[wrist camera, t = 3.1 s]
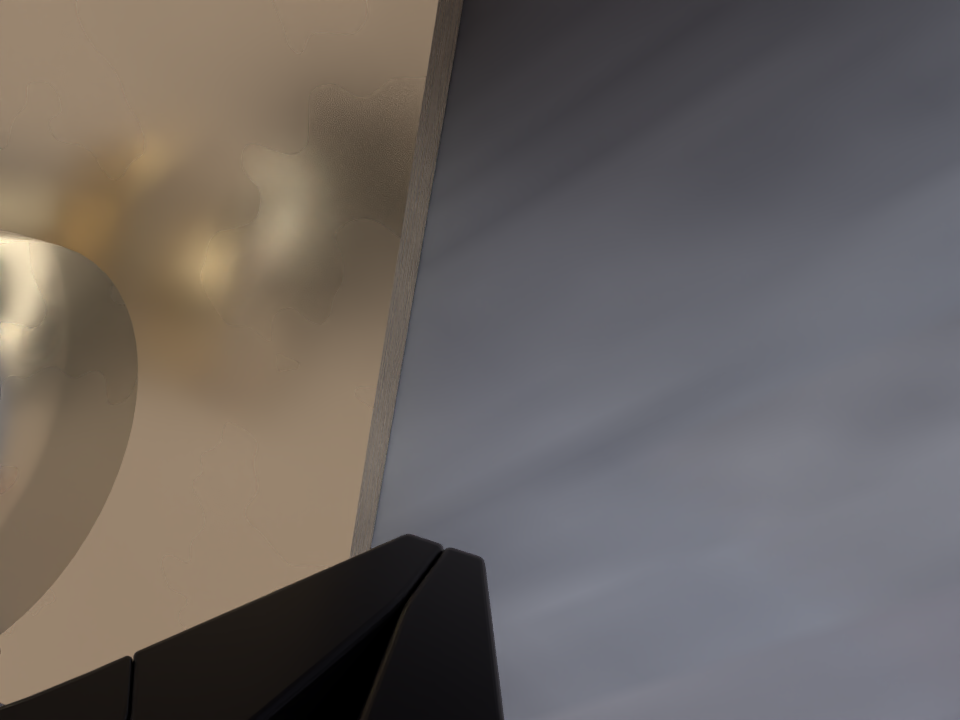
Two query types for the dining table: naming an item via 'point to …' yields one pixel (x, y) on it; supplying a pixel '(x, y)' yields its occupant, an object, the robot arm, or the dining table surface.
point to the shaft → (57, 410)
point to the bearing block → (225, 283)
